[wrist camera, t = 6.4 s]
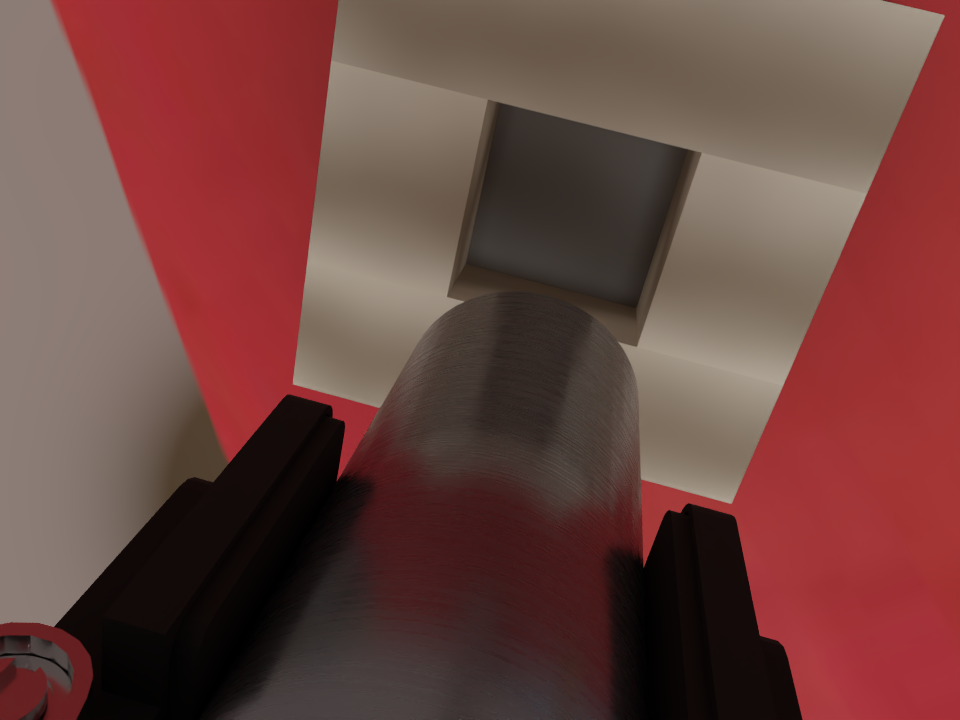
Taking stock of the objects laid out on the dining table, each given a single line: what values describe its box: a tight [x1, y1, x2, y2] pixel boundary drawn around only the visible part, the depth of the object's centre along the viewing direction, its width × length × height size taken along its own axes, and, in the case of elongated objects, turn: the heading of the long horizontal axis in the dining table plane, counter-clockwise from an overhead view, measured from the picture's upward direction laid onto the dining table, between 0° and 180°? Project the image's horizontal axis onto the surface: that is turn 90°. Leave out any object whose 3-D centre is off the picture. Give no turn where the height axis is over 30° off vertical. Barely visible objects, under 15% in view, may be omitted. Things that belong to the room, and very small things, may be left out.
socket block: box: [293, 0, 945, 504], centre depth 24 cm, size 14×14×4 cm
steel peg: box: [198, 291, 648, 720], centre depth 9 cm, size 4×4×12 cm
